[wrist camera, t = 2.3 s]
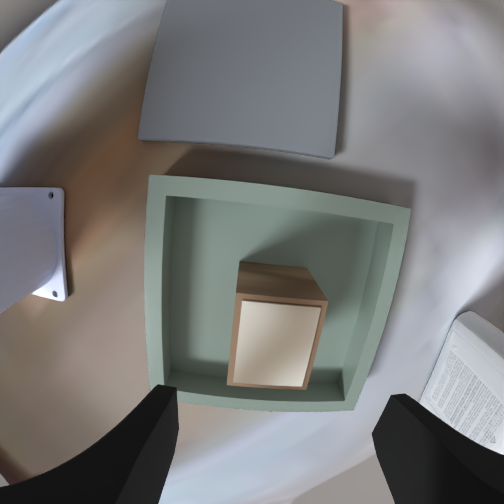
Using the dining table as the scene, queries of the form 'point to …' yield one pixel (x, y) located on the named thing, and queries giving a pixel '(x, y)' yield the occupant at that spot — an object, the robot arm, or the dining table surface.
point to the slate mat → (246, 75)
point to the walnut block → (275, 326)
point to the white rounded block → (470, 381)
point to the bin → (268, 252)
